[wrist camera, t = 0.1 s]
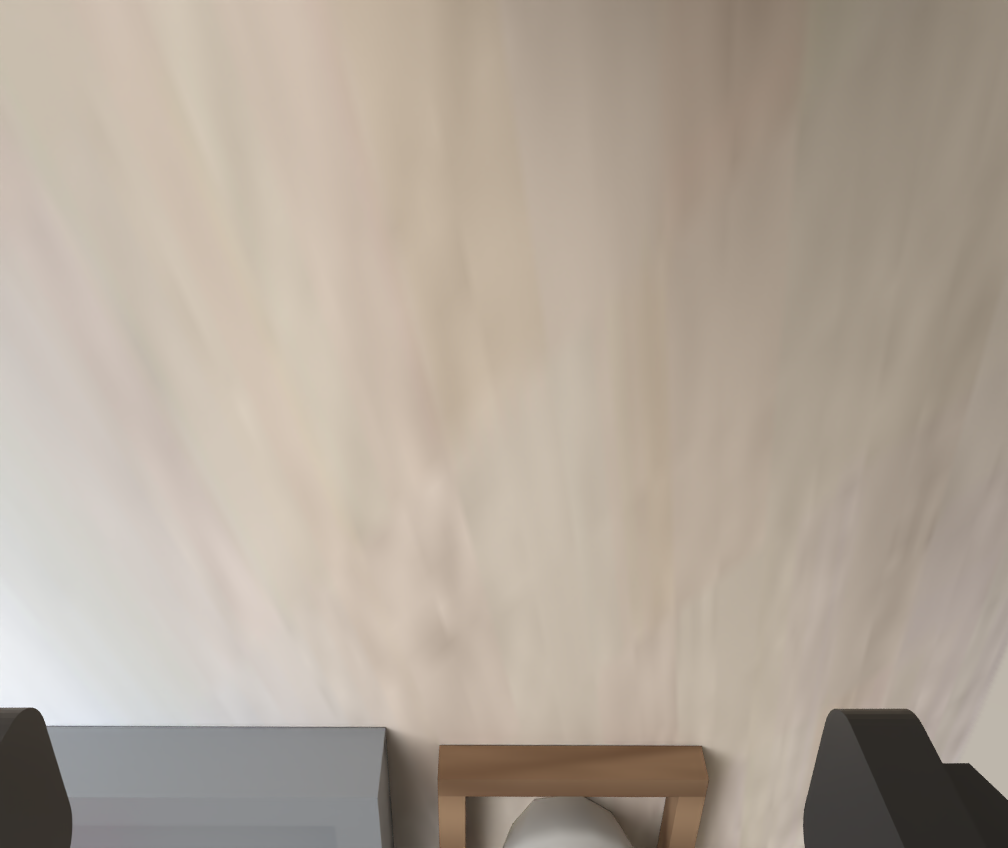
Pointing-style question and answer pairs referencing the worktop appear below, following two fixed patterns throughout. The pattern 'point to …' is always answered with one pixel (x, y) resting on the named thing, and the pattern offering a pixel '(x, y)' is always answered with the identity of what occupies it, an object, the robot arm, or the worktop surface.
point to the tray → (226, 786)
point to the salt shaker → (566, 826)
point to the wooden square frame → (574, 781)
